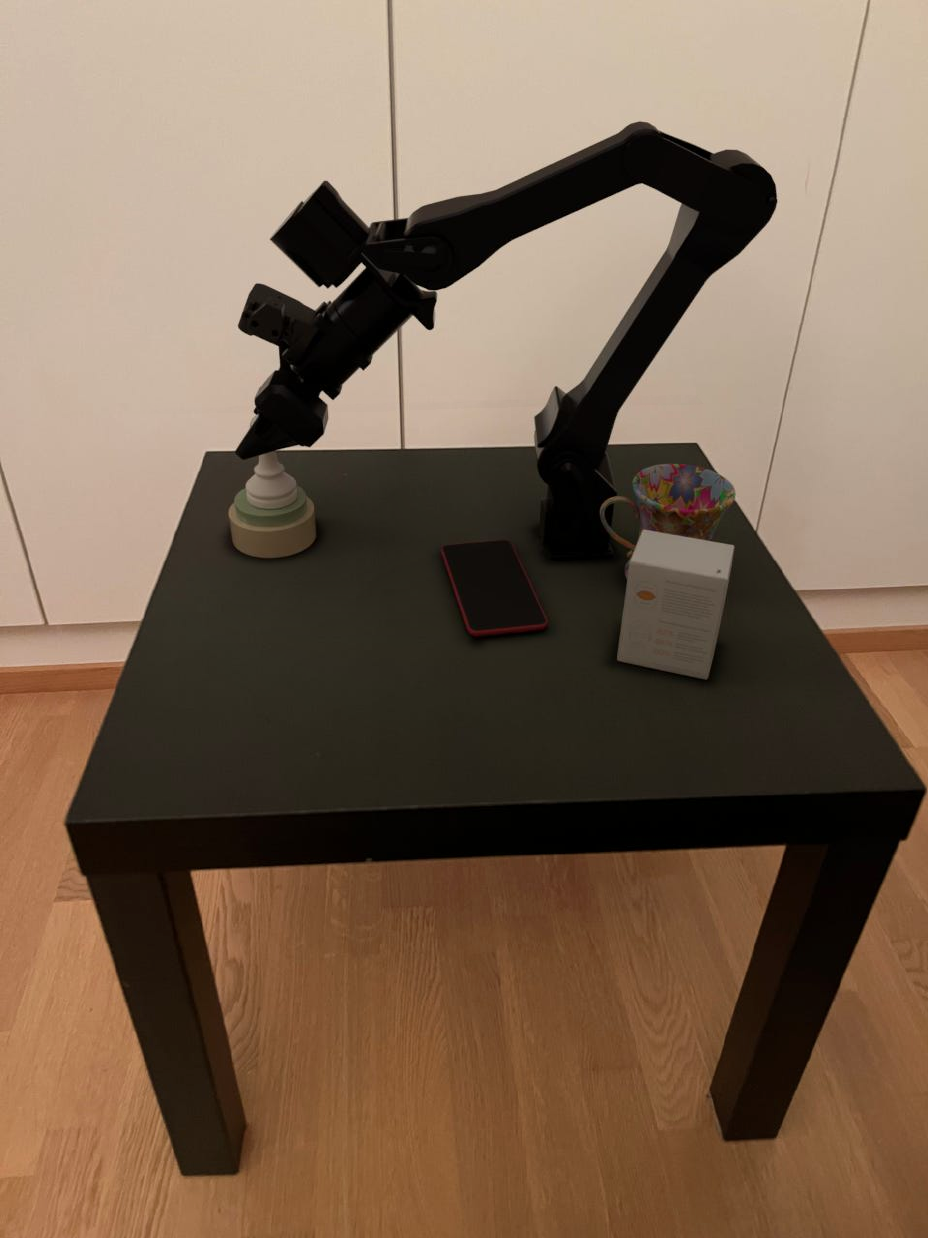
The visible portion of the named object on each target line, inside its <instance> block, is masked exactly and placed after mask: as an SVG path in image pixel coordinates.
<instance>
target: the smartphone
mask: <svg viewBox="0 0 928 1238" xmlns="http://www.w3.org/2000/svg"><path fill="white" fill-rule="evenodd" d="M440 553H441V557H442V559H443V562H444V565H445V568H446V572H447V574H448V577H449V579H450V584H451V586H452V588H453V591H454V595H455V597H456V601H457V603H458V606H459V609H460V612H461V615H462V618H463V621H464V624H465V627H466V630H467V632H468V634H469V635H471V636H473V637H477V638H478V637H488V636H489V637H490V636H497V635H498V636H499V635H507V634H517V633H527V632H535V631H536V632H537V631H541V630H544V629H545V628H546V627H547V626H548V617H547V616H546V614H545V612H544V610H543V608H542V605H541V603H540V600H539V598H538V596H537V594H536V592H535V590H534V588H533V585H532V583H531V581H530V579H529V577H528V574H527V572H526V571H525V568H524V566H523V563H522V561H521V560H520V557H519V555H518V553H517V551H516V549H515V546H514V544H513V542H512V541H510V540H507V539H495V540H492V539H491V540H482V541H472V542H460V543H449V544H444V545H443V546H442V547H441V548H440Z"/></svg>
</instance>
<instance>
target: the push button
mask: <svg viewBox="0 0 928 1238" xmlns="http://www.w3.org/2000/svg"><path fill="white" fill-rule="evenodd" d="M296 488H297V498H296V500H295V501H294V502H293V503H291V504H290V505H288V506H285V507H282V508H277V509H262V508H257V507H255V506H253V505H251V504H250V503H249V502H248V500H247V490H246V487H244V488H242V489H241V490H239V491H238V492H237V493H236V494H235V496H234V499H233V503H232V504H231V505H230V507H229V509H228V521H229V527H230V534H231V541H232V544H233V546H234V548H236V549H237V550H238V551H239V552H240V553H242V554H244V555H247V556H250V557H253V558H259V559H260V558H261V559H279V558H284V557H285V558H286V557H290V556H293V555H296V554H299V553H301V552H303V551H304V550H306V549H308V548H309V547H311V545H312V544H313V543H314V542H315V540H316V538H317V523H316V513H315V511H316V510H315V505H314V502H313V501H312V499H310V497H308V496H307V494H306V491H305V490H304V489H303V488H302V487H300V486H298V485H296Z"/></svg>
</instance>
